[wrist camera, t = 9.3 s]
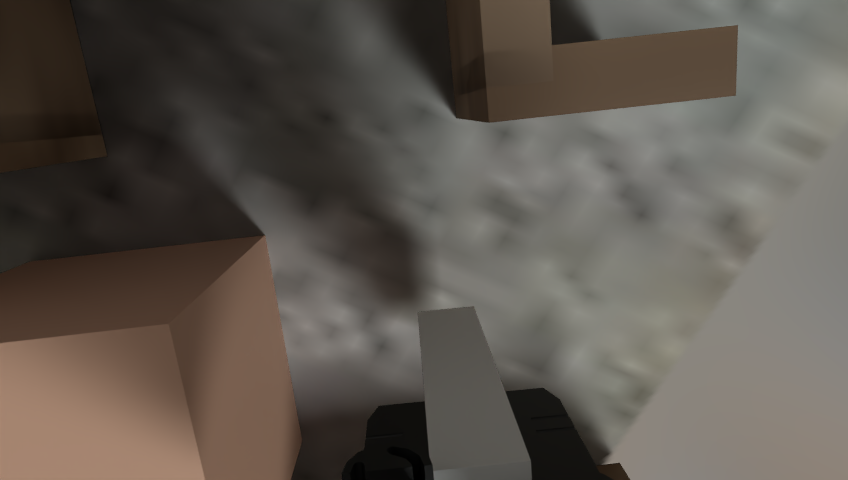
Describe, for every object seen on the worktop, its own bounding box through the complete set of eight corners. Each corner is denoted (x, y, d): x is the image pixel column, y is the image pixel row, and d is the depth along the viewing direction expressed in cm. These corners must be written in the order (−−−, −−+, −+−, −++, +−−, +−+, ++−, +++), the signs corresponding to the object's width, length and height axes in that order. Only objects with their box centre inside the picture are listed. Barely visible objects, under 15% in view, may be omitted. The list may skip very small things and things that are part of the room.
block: (31, 260, 16) (-238, 370, 9) (265, 234, 16) (168, 323, 9) (90, 464, 18) (-102, 684, 11) (302, 439, 18) (242, 641, 11)
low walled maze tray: (-346, 161, 15) (-824, 193, 9) (610, 57, 15) (738, 25, 10) (-160, 586, 18) (-421, 808, 13) (620, 492, 19) (719, 665, 13)
